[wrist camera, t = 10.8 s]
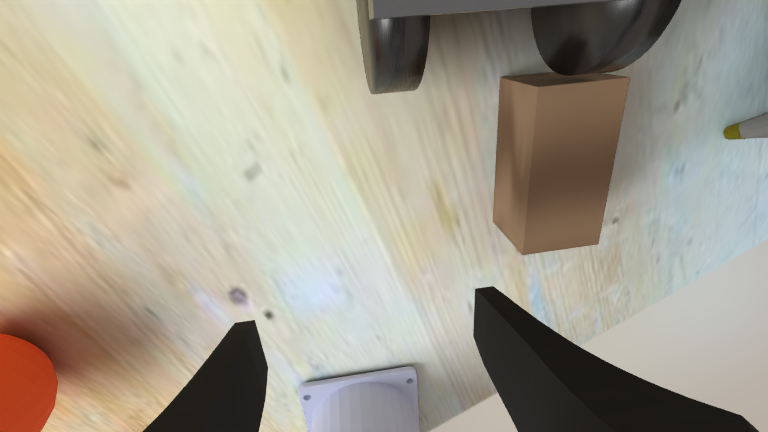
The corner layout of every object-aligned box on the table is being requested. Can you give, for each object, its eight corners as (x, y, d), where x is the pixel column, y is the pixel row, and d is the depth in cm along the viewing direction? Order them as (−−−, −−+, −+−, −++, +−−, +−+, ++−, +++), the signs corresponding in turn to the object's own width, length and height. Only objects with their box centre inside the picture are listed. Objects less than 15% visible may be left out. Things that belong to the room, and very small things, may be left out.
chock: (498, 77, 19) (538, 86, 16) (574, 69, 20) (629, 77, 16) (491, 220, 23) (522, 255, 19) (556, 211, 23) (598, 244, 19)
